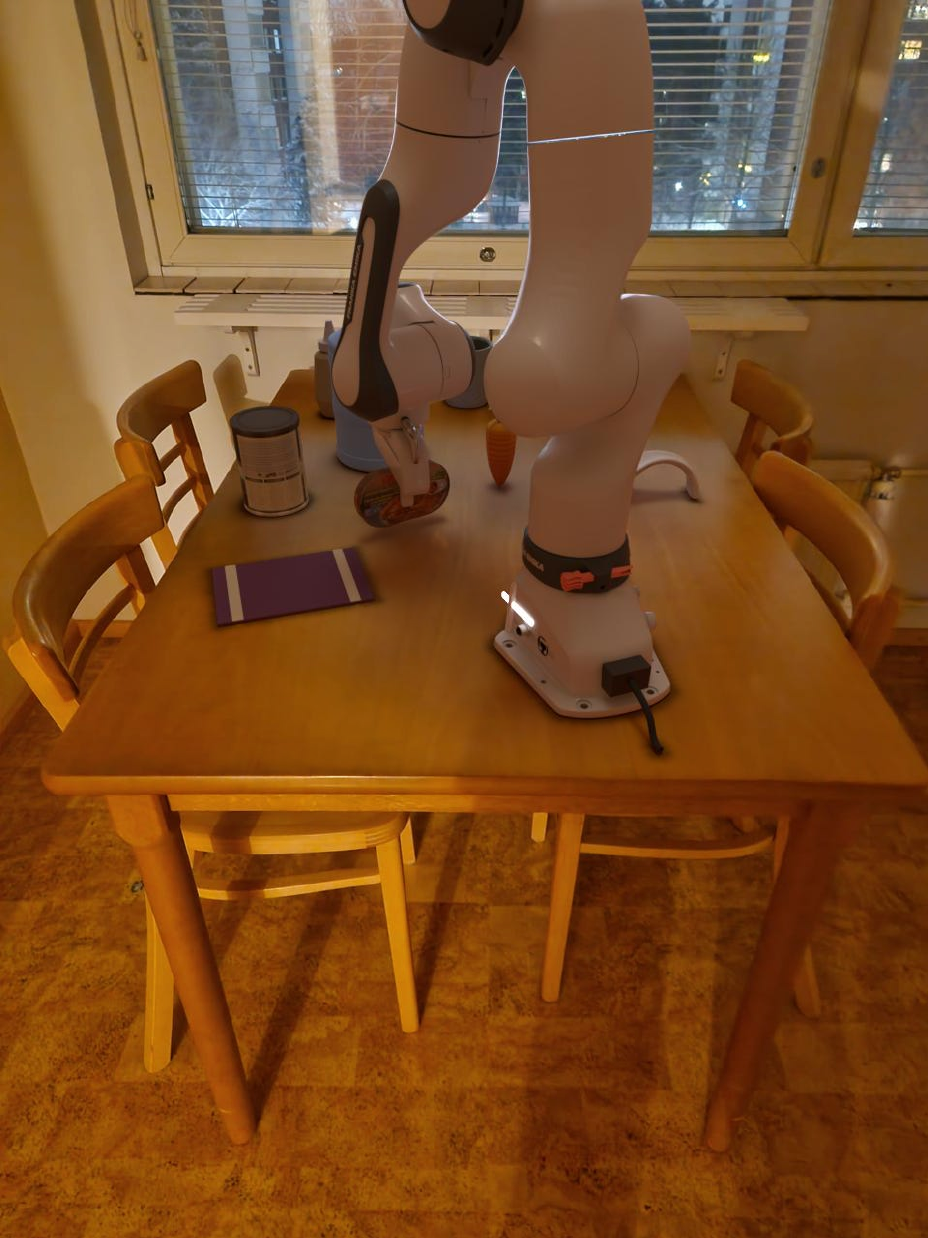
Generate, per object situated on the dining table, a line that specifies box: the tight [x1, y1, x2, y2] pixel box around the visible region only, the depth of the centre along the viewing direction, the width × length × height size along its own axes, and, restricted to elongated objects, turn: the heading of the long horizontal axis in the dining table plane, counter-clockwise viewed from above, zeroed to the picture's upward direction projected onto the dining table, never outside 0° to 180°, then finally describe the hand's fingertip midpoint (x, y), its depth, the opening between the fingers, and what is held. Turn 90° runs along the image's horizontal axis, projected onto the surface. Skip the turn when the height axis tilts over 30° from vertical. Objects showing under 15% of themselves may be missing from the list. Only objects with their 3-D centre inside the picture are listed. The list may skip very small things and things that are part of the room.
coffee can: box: [228, 405, 310, 518], centre depth 125 cm, size 10×10×14 cm
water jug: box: [328, 327, 425, 473], centre depth 136 cm, size 16×16×28 cm
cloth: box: [211, 546, 376, 628], centre depth 109 cm, size 14×20×1 cm
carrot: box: [485, 406, 518, 488], centre depth 130 cm, size 5×5×15 cm
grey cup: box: [445, 335, 494, 409], centre depth 164 cm, size 10×10×12 cm
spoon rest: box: [635, 449, 700, 500], centre depth 129 cm, size 24×12×7 cm, turn 93°
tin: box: [353, 458, 451, 529], centre depth 119 cm, size 15×3×8 cm, turn 122°
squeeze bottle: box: [313, 319, 336, 419], centre depth 156 cm, size 8×8×18 cm
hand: (402, 498), depth 119 cm, fingers closed on tin, 3 cm apart
